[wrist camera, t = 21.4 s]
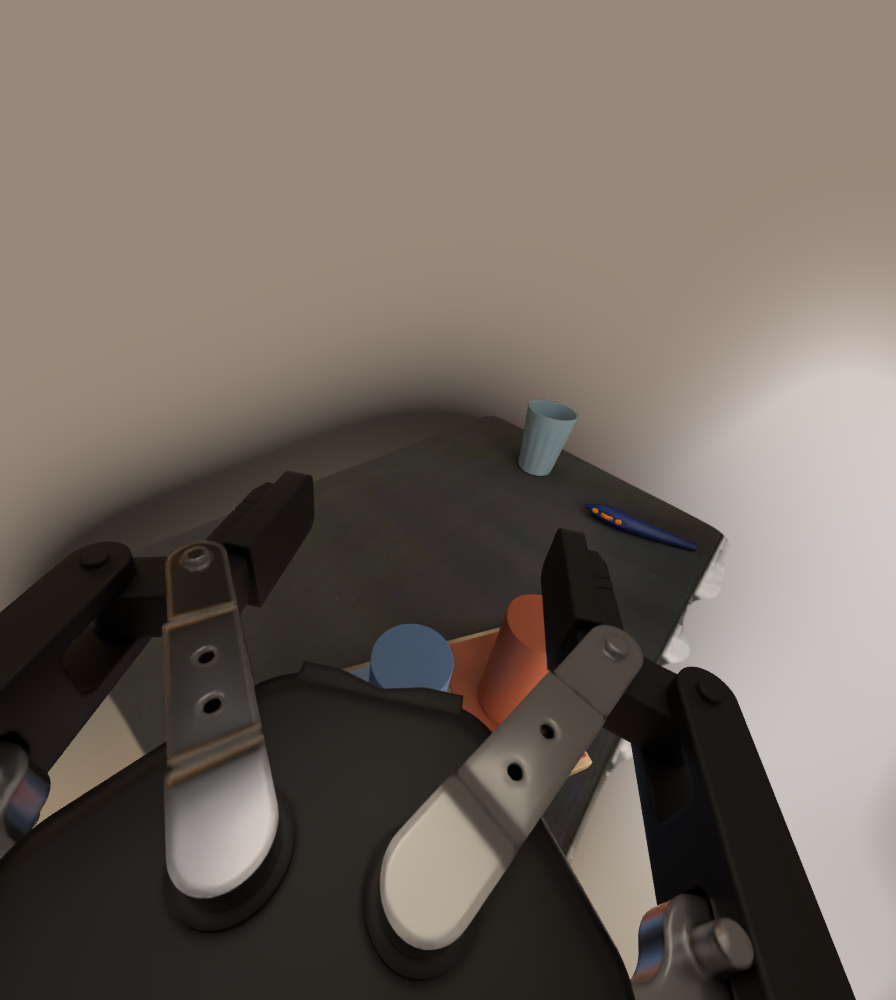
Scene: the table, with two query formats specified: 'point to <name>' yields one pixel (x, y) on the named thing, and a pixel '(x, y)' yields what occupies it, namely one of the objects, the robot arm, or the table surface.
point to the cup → (545, 435)
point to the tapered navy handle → (637, 526)
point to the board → (469, 677)
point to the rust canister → (515, 658)
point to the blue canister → (411, 659)
